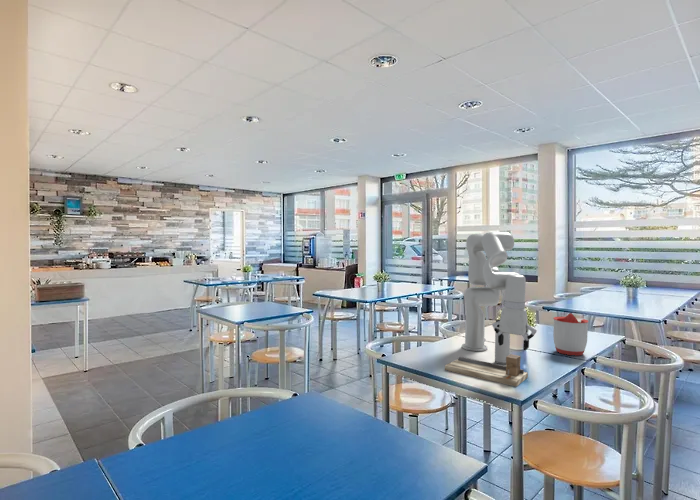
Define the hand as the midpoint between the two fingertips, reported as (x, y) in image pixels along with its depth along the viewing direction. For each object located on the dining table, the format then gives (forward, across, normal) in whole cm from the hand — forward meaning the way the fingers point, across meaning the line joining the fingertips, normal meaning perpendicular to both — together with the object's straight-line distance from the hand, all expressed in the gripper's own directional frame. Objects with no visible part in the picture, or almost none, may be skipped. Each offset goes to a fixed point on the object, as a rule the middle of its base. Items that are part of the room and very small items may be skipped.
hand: (513, 347), depth 169 cm
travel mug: (+14, -10, +18) cm, 25 cm away
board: (+13, -10, -2) cm, 17 cm away
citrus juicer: (+14, +9, +59) cm, 61 cm away
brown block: (+11, +1, -2) cm, 11 cm away
